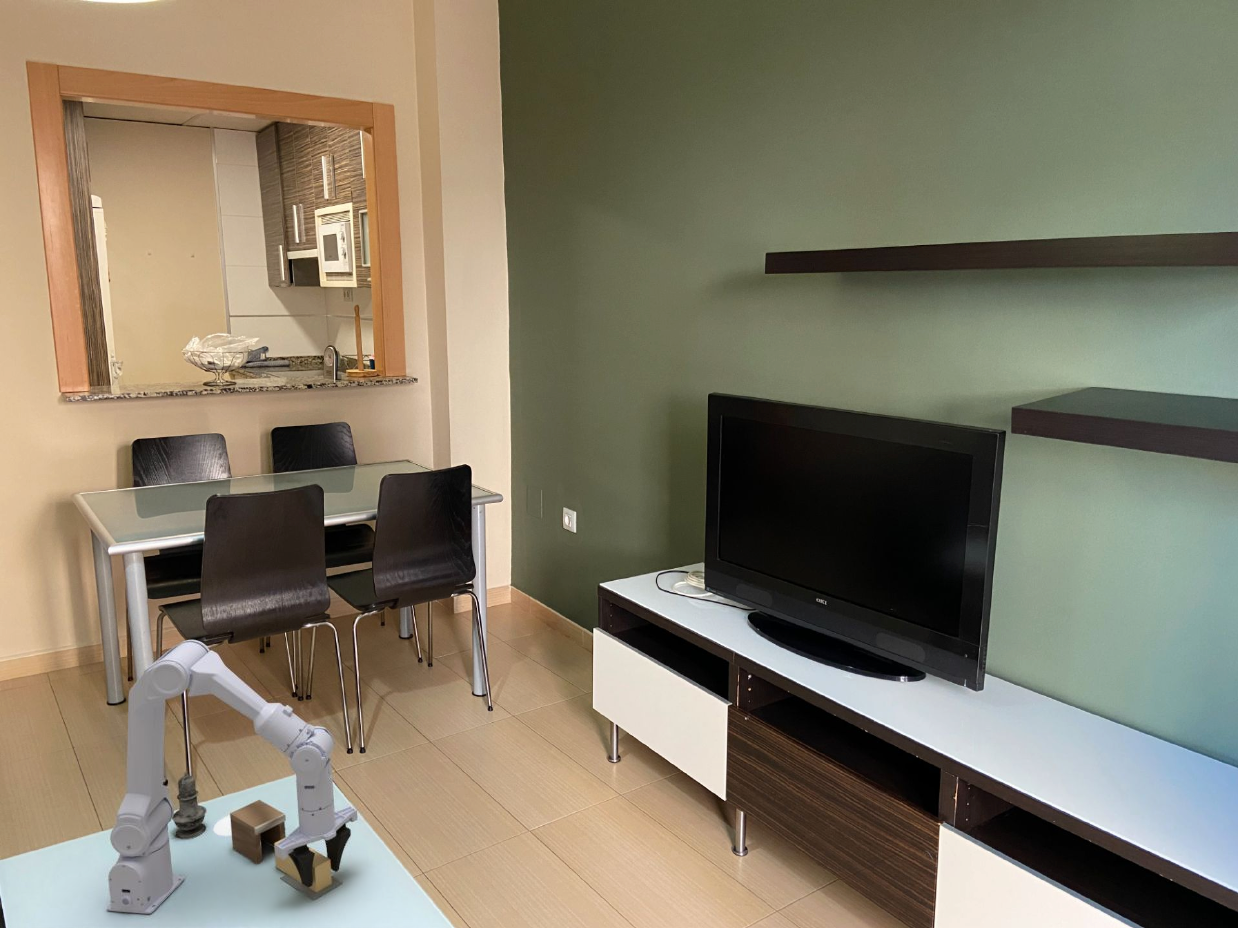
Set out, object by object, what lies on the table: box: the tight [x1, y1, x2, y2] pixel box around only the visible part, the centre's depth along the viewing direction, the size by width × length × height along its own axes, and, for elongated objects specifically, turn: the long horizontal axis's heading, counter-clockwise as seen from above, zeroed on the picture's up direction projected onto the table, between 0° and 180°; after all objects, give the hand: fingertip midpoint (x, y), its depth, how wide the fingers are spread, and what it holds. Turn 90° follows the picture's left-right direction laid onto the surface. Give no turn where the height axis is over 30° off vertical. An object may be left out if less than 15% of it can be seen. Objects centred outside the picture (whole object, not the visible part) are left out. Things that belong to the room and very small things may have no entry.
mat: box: [280, 873, 343, 901], centre depth 154 cm, size 6×10×1 cm, turn 53°
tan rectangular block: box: [273, 838, 332, 892], centre depth 155 cm, size 3×12×4 cm, turn 53°
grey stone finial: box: [171, 771, 207, 840], centre depth 168 cm, size 6×6×12 cm
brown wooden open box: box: [229, 799, 287, 865], centre depth 163 cm, size 6×8×7 cm
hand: (320, 876), depth 152 cm, fingers open, 5 cm apart
